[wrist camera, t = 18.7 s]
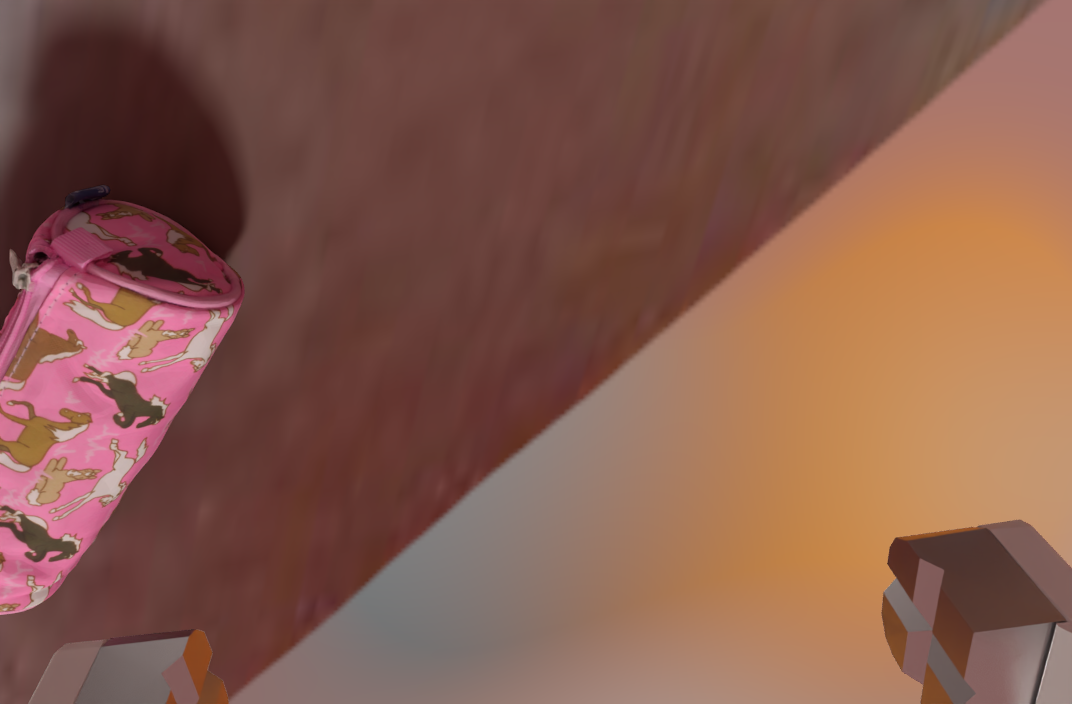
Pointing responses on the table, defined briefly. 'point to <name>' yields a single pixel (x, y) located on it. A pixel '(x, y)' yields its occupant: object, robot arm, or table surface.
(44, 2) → the table surface
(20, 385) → the pencil case
